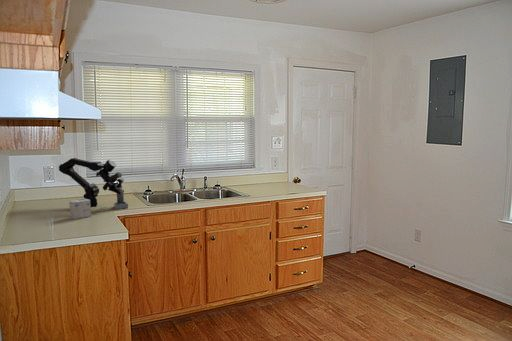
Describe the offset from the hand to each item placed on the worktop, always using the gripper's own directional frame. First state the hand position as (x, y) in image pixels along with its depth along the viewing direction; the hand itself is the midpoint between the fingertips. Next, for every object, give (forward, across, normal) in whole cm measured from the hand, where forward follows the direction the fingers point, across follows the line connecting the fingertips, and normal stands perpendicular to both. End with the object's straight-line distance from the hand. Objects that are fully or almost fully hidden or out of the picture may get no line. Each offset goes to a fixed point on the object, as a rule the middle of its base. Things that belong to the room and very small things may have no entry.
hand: (121, 193), depth 276 cm
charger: (+4, 0, +6) cm, 7 cm away
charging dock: (+6, 0, +8) cm, 10 cm away
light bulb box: (-1, -29, +16) cm, 33 cm away
